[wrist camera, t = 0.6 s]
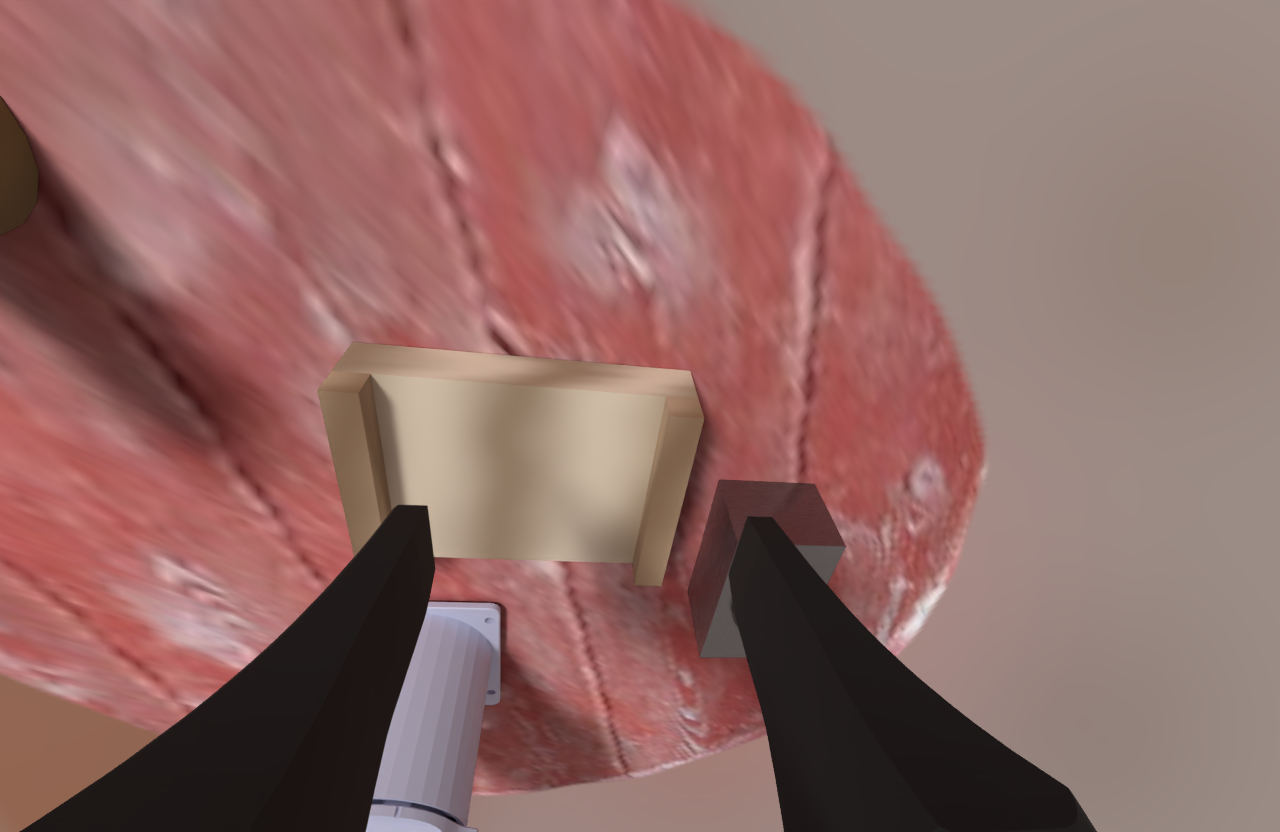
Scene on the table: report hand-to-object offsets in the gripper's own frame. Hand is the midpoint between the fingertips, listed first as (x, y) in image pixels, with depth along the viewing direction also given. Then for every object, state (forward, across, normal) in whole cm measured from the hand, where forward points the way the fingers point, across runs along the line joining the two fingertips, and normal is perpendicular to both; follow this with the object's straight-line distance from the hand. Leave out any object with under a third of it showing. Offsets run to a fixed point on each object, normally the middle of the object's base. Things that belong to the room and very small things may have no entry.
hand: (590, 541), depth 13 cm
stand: (+10, +2, +5) cm, 11 cm away
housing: (+10, -9, +10) cm, 17 cm away
